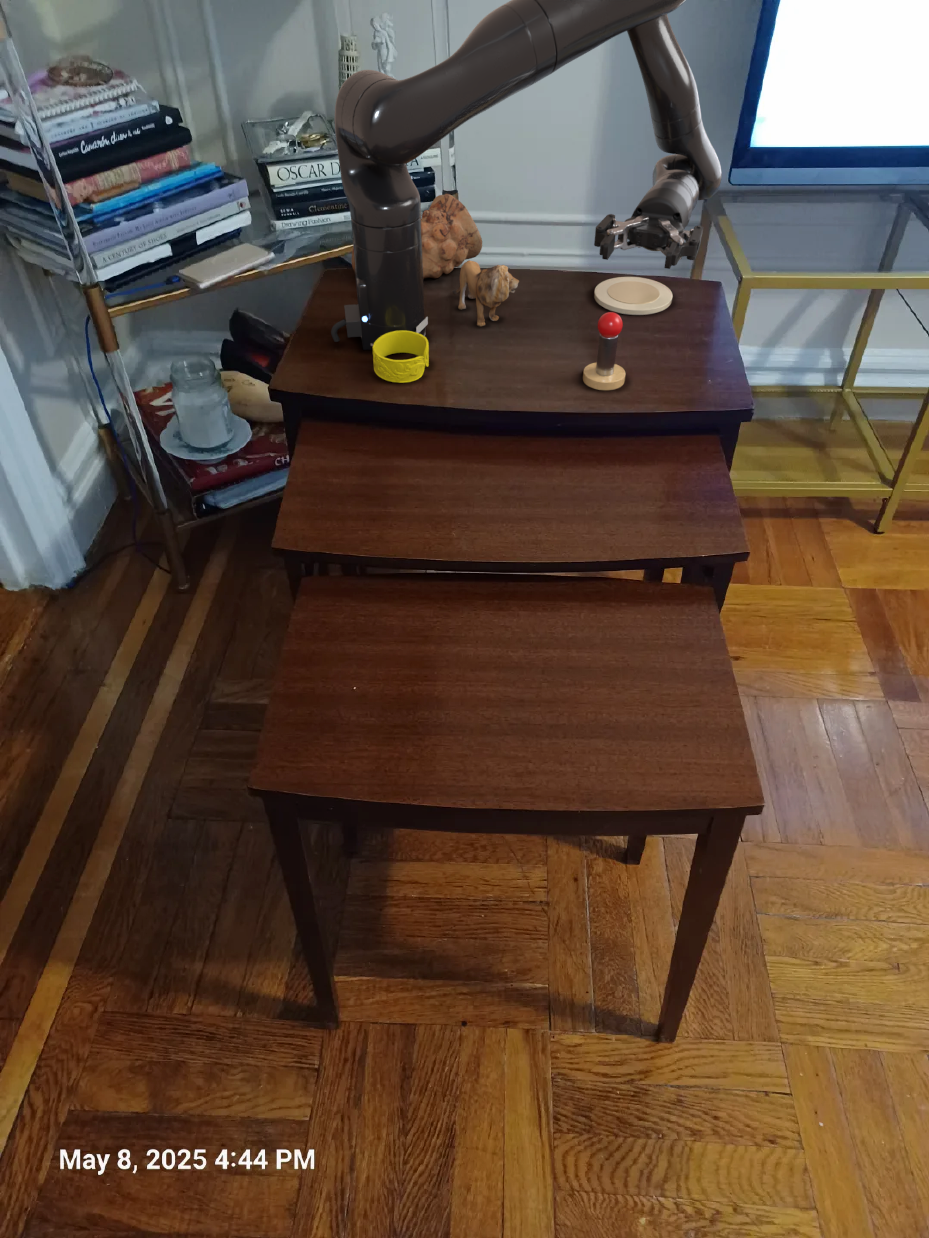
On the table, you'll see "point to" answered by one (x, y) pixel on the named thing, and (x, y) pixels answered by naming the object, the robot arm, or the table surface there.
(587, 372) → the red ball post
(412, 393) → the table surface
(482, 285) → the lion figurine
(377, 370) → the bracelet
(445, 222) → the brown bumpy lump
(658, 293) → the plate
